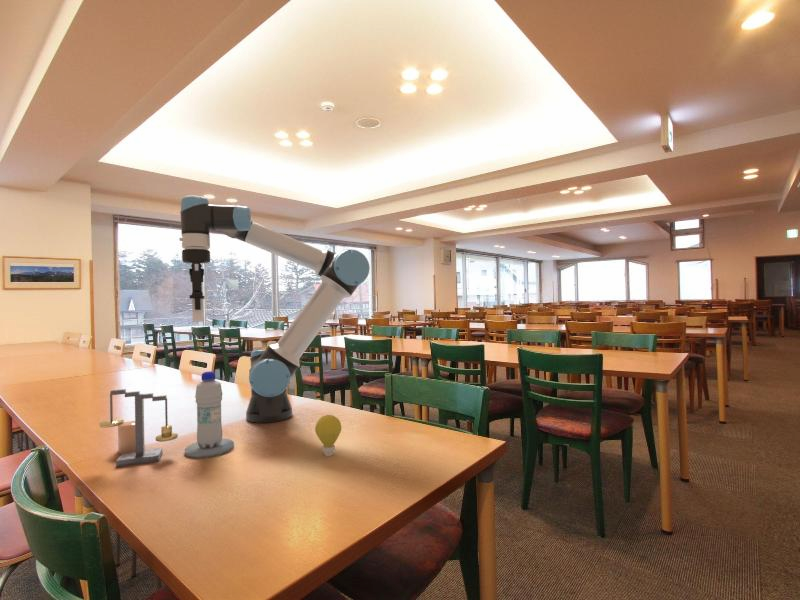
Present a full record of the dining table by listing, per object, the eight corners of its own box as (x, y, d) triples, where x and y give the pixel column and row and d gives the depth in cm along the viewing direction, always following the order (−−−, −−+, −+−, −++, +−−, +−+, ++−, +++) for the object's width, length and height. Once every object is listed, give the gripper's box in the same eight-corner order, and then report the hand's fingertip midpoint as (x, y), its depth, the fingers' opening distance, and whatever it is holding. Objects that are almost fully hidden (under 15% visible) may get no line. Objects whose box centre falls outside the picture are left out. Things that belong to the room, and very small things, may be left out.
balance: (179, 451, 112) (178, 383, 112) (176, 459, 106) (175, 387, 106) (104, 460, 106) (102, 389, 106) (96, 469, 100) (95, 394, 100)
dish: (234, 439, 120) (234, 436, 120) (233, 454, 109) (233, 450, 109) (187, 445, 116) (187, 442, 116) (181, 461, 105) (181, 457, 105)
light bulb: (346, 451, 110) (345, 412, 110) (334, 460, 104) (333, 420, 104) (323, 448, 112) (323, 411, 112) (310, 457, 106) (309, 417, 106)
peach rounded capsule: (146, 444, 118) (146, 419, 118) (141, 451, 112) (141, 425, 112) (121, 447, 116) (121, 422, 116) (115, 454, 110) (115, 428, 110)
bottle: (213, 450, 109) (211, 373, 109) (190, 449, 110) (188, 373, 110) (228, 442, 115) (227, 369, 115) (207, 440, 117) (205, 369, 117)
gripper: (183, 253, 135) (185, 319, 135) (180, 243, 112) (182, 323, 112) (209, 254, 138) (211, 318, 138) (210, 244, 115) (213, 321, 115)
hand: (198, 320), depth 125 cm, fingers open, 13 cm apart
